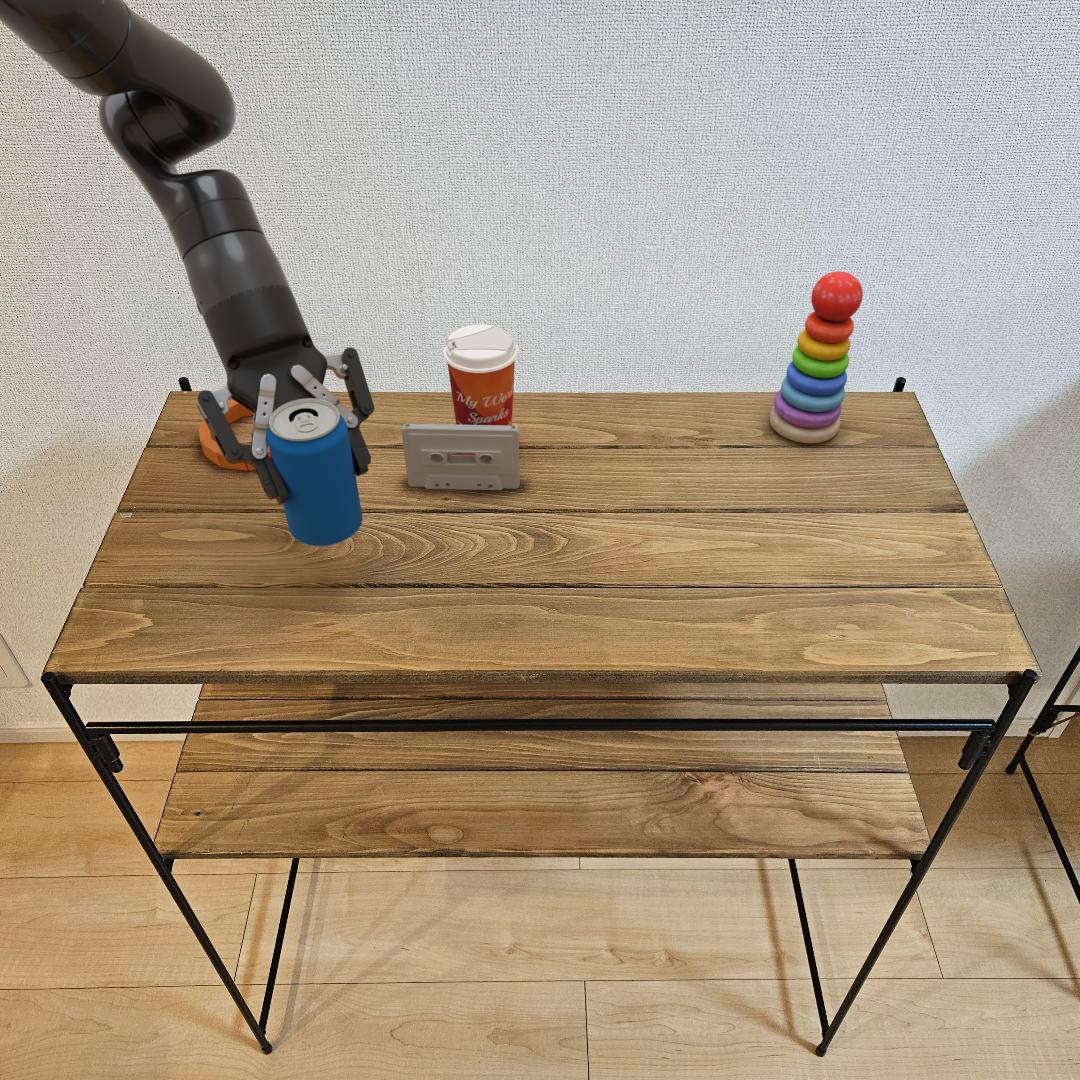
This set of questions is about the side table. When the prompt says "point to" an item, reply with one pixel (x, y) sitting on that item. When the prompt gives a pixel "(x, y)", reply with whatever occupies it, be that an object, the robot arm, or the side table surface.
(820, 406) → the stacking toy
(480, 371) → the paper cup
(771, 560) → the side table surface
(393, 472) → the side table surface
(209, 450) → the ring
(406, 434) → the cassette
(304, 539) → the beverage can
